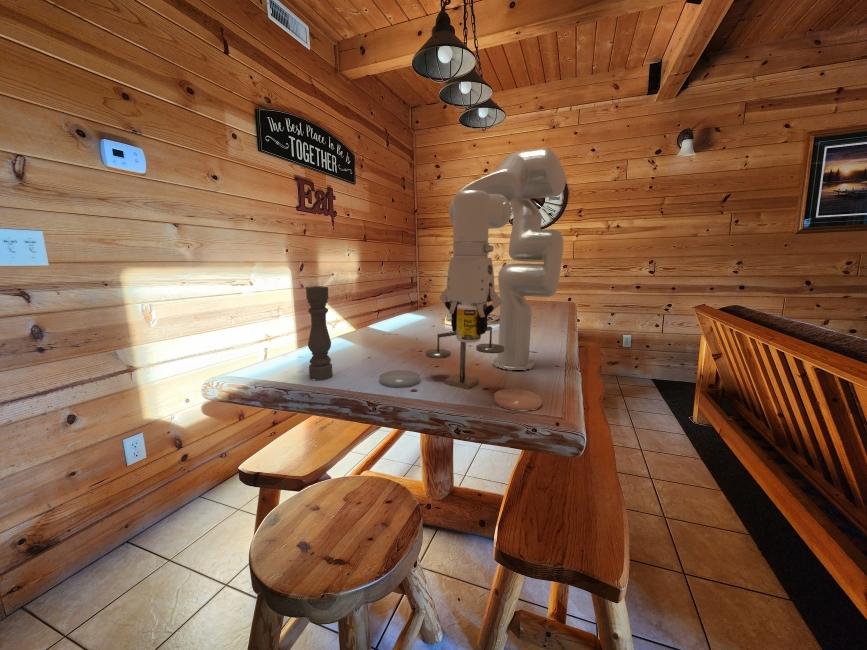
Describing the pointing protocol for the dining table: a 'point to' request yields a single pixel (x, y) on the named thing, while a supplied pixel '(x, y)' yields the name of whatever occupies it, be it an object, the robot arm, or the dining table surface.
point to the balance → (463, 359)
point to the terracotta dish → (517, 399)
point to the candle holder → (319, 333)
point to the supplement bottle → (467, 322)
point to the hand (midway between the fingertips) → (468, 331)
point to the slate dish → (399, 378)
